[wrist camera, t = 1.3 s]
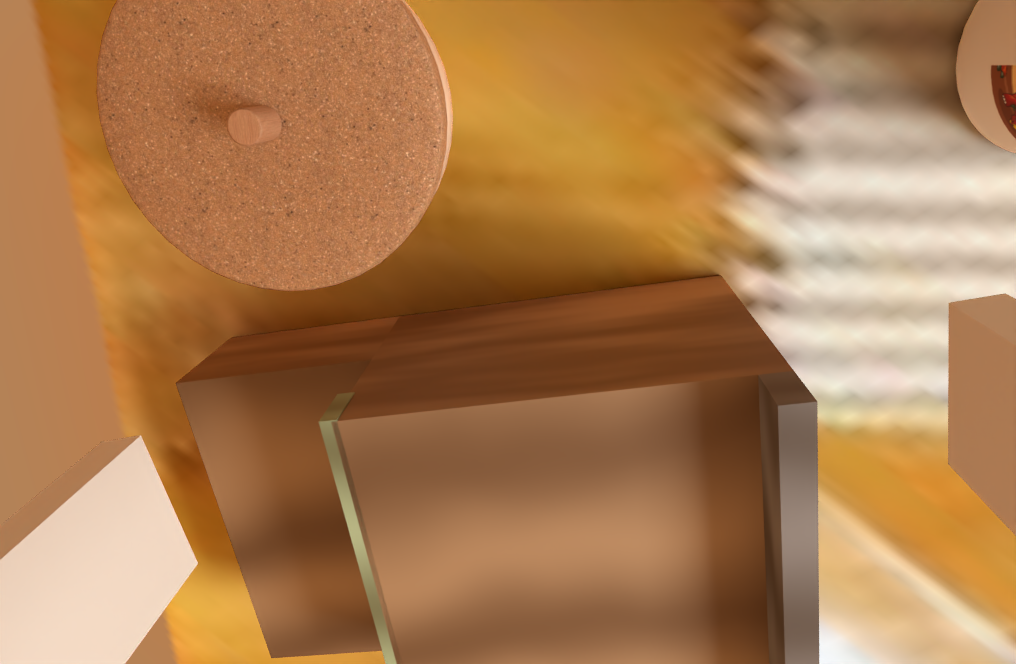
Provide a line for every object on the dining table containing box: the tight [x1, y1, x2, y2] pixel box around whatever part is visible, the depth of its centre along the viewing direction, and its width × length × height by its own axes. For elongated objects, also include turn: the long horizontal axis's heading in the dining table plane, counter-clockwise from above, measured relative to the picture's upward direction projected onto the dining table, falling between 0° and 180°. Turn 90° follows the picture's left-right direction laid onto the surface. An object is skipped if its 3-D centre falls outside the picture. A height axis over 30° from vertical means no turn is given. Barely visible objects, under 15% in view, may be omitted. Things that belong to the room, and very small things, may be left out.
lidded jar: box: [97, 0, 453, 291], centre depth 24 cm, size 11×11×9 cm
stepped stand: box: [176, 275, 819, 664], centre depth 28 cm, size 14×22×12 cm, turn 99°
